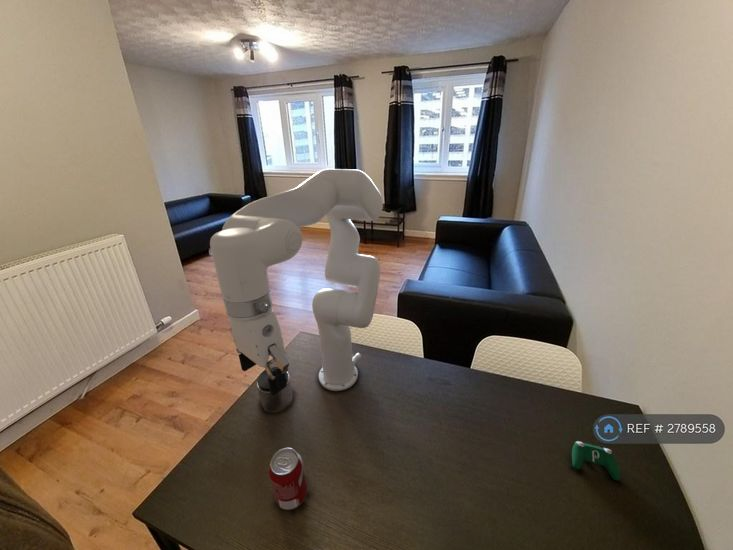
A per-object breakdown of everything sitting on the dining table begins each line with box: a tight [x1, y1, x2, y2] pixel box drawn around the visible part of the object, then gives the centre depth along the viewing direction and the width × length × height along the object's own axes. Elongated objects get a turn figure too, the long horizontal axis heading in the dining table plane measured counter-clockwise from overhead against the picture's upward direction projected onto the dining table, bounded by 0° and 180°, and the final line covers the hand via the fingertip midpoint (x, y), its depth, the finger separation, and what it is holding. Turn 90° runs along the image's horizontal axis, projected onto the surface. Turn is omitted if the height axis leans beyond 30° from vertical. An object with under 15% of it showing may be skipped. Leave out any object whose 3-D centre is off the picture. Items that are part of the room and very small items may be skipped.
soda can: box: [268, 447, 308, 511], centre depth 64 cm, size 7×7×12 cm
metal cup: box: [256, 366, 294, 413], centre depth 88 cm, size 9×9×9 cm
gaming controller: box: [571, 440, 621, 481], centre depth 71 cm, size 9×4×6 cm
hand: (263, 378), depth 59 cm, fingers open, 9 cm apart
